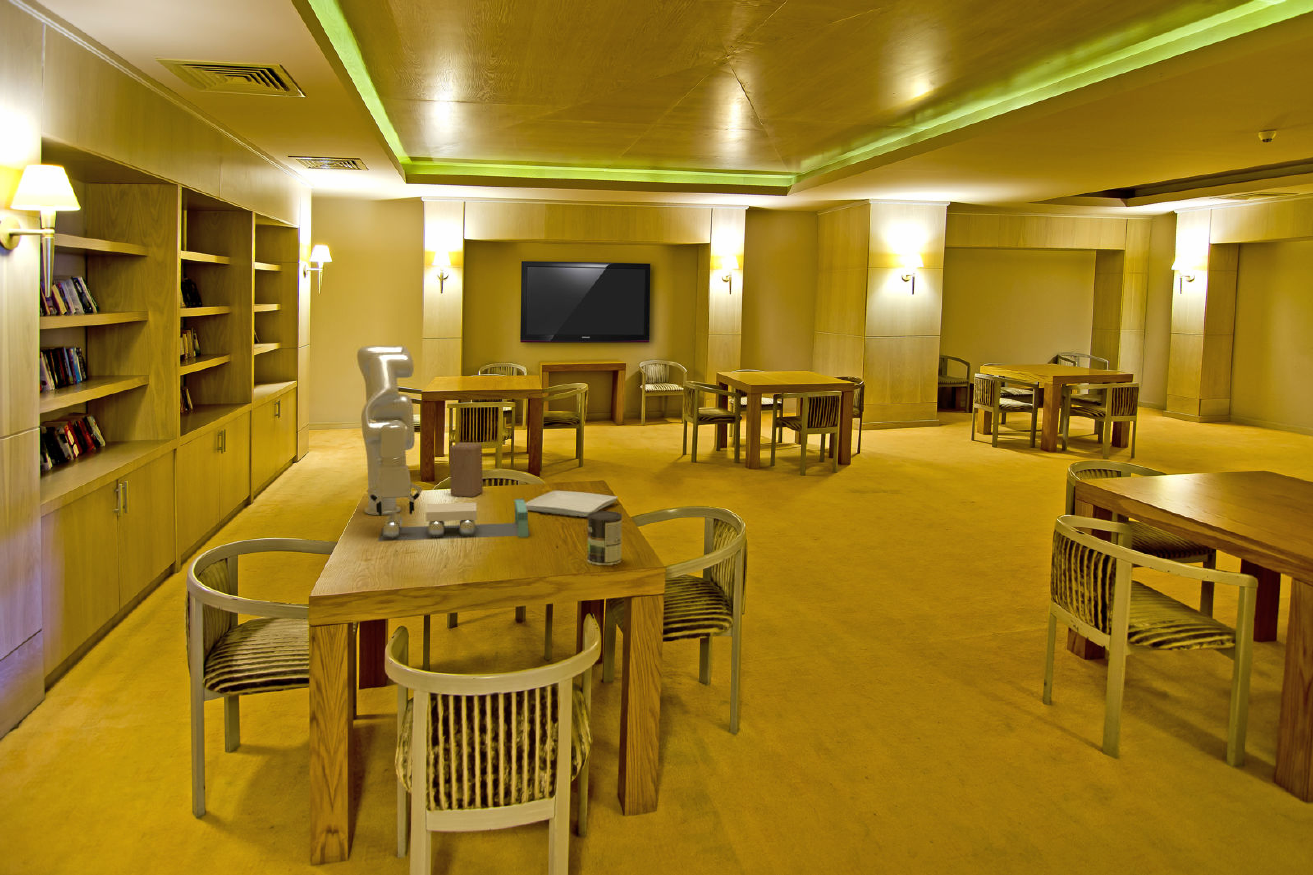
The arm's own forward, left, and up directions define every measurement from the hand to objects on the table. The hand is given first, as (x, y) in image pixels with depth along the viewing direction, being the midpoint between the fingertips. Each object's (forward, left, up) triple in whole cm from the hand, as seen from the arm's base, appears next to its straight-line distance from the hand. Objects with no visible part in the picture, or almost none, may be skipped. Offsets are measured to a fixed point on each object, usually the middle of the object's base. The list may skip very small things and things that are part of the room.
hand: (395, 514), depth 301 cm
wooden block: (-61, +23, -8) cm, 65 cm away
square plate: (-31, +61, -8) cm, 69 cm away
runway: (-1, +19, -7) cm, 20 cm away
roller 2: (-1, +23, -7) cm, 24 cm away
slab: (-1, +18, -2) cm, 18 cm away
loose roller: (-1, 0, -7) cm, 7 cm away
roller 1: (-1, +13, -7) cm, 15 cm away
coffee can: (+39, +63, -8) cm, 74 cm away
